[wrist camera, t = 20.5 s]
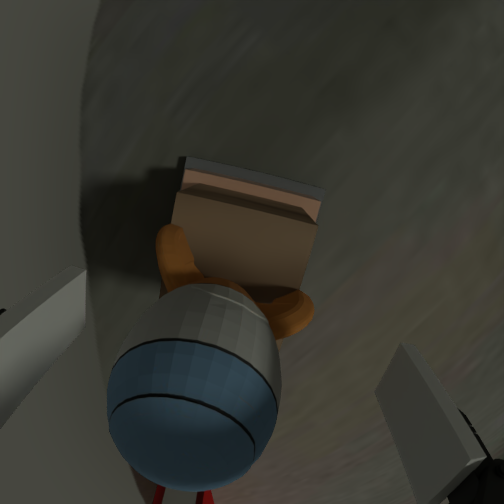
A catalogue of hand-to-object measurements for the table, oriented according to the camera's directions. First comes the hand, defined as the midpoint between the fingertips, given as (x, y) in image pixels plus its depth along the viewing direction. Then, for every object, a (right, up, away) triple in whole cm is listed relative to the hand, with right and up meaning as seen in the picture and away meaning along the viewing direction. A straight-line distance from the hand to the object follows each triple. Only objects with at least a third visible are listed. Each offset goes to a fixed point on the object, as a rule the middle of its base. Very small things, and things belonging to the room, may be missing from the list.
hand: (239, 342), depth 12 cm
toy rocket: (-2, +2, +9) cm, 10 cm away
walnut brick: (-1, +4, +17) cm, 17 cm away
